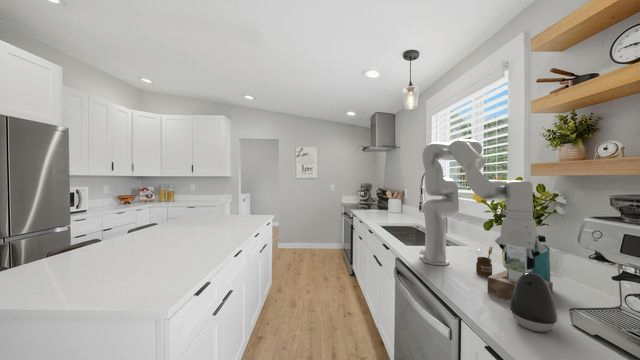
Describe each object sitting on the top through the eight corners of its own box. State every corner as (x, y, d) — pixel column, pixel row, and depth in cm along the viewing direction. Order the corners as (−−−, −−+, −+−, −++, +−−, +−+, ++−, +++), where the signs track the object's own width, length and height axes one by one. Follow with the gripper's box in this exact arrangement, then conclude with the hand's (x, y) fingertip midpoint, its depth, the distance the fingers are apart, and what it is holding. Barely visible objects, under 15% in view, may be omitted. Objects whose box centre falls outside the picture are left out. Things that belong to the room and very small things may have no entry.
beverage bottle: (554, 291, 96) (554, 237, 96) (534, 289, 97) (534, 236, 97) (543, 284, 102) (543, 234, 102) (524, 283, 104) (524, 233, 104)
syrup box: (532, 285, 91) (532, 243, 91) (525, 288, 88) (525, 246, 88) (513, 279, 96) (513, 240, 96) (506, 283, 93) (506, 242, 93)
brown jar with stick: (473, 272, 116) (473, 245, 116) (486, 271, 116) (486, 245, 116) (481, 277, 110) (481, 248, 110) (496, 276, 111) (496, 248, 111)
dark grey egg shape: (503, 324, 74) (503, 271, 74) (517, 313, 80) (517, 264, 80) (550, 342, 66) (550, 282, 66) (561, 329, 72) (561, 274, 72)
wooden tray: (487, 293, 94) (487, 276, 94) (506, 285, 101) (506, 270, 101) (534, 309, 82) (534, 291, 82) (552, 299, 89) (552, 282, 89)
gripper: (487, 213, 97) (487, 261, 97) (544, 219, 83) (545, 275, 82) (498, 212, 101) (498, 258, 101) (554, 217, 86) (554, 271, 86)
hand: (519, 265), depth 92 cm, fingers closed on syrup box, 5 cm apart
